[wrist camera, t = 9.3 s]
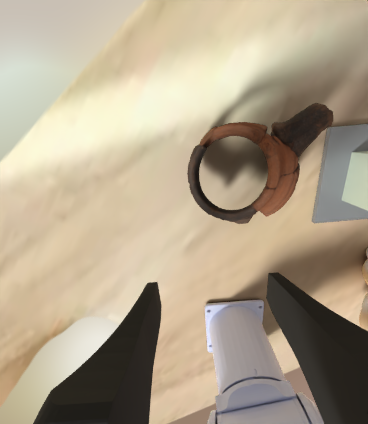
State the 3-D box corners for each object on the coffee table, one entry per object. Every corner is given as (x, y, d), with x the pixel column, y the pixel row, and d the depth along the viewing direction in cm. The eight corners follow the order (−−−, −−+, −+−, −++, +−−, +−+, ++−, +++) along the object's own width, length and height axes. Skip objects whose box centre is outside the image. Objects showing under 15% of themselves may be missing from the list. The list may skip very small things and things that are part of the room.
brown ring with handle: (248, 226, 23) (227, 253, 16) (197, 169, 25) (158, 171, 18) (353, 147, 17) (393, 136, 10) (276, 78, 19) (265, 27, 12)
